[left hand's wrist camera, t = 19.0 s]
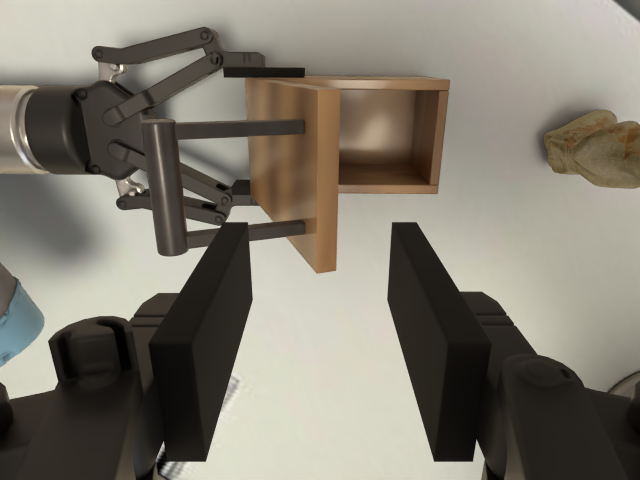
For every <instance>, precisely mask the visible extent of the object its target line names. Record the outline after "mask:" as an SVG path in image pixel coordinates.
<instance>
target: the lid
mask: <svg viewBox="0 0 640 480" xmlns="http://www.w3.org/2000/svg"><path fill="white" fill-rule="evenodd" d="M245 85H246V106H247V120H245V121H215V122H184V123H176V122H175V120H171V119H149V120H143V121H141V130H142V137H143V145H144V152H145V160H146V167H147V175H148V182H149V190H150V197H151V205H152V212H153V220H154V227H155V235H156V242H157V250H158V253H159V254H160V255H162V256H178V255H182V254H184V253H186V252H187V251H188V250H189V249H190V248H198V247H206V246H209V245H210V243H211V242H212V240H213V239H214V237H215V235H216V234H217V232H218V231H219V229H220V228H216V229H207V230H198V231H189V232H187V225H186V216H185V206H184V197H183V187H182V178H181V168H180V159H179V149H178V140H184V139H206V138H229V137H248V147H249V168H250V188H251V196H252V197H253V198H254V199H255V201H256V202H257V203H258V204H259V205H260V207H261V208H262V209H263V210H264V211H265V213H266V214H267V215H268V216H269V217H270V218H271V220H272V221H273V222H271V223H262V224H253V225H248V233H249V241H255V240H263V239H272V238H280V237H286V238H287V239H288V240H289V241H290V242H291V244H292V245H293V246H294V247H295V248H296V249H297V251H298V252H299V253H300V254H301V255H302V257H303V258H304V259H305V260H306V261H307V263H308V264H309V265H310V266H311V267H312V269H313V270H314V271H315V272H316V273H324V272H330V271H336V254H337V215H338V175H339V135H340V95H341V90H340V89H335V88H328V87H321V86H313V85H306V84H298V83H291V82H284V81H276V80H269V79H262V78H245Z"/></svg>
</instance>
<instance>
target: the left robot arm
mask: <svg viewBox="0 0 640 480" xmlns="http://www.w3.org/2000/svg"><path fill="white" fill-rule="evenodd" d="M252 300H253V298H252V282H251V265H250V249H249V233H248V222H223V224H222V226H221V227H220V229H219V231H218V232H217V234H216V235H215V237H214V239H213V240H212V242H211V243H210V245H209V247H208V248H207V250H206V251H205V253H204V255H203V256H202V258H201V259H200V261H199V263H198V264H197V266H196V267H195V269H194V271H193V272H192V274H191V275H190V277H189V279H188V280H187V282H186V284H185V285H184V287H183V288H182V290H181V292H180V293H158V294H156V295H155V296H153V297H152V298H150V299H149V300H147V301H146V302H144V303H143V304H142V305H141V306H140V308H139V309H138V310H137V312H136V313H135V314H134V317H132V318H131V320H130V321H129V322H128V321H127V320H126V319H124V318H120V317H115V316H99V317H94V318H89V319H84V320H81V321H78V322H76V323H73V324H70V325H68V326H66V327H65V328H63V329H61V330H59V331H58V332H56V333H55V334H54V335H53V336H52V337H51V338H50V340H49V341H48V343H49V347H50V351H51V354H52V358H53V362H54V366H55V370H56V374H57V378H58V384H57V386H56V388H55V390H52V391H48V392H45V393H40V394H35V395H30V396H25V397H20V398H15V399H10V400H9V397H8V393H7V390H6V387H5V386H4V385H3V384H2V383H1V382H0V480H158V474H157V467H156V461H155V460H156V458H157V455H158V453H159V451H160V448H161V446H162V443H163V441H164V445H165V451H166V457H167V462H206V459H207V455H208V452H209V449H210V445H211V442H212V438H213V435H214V431H215V428H216V424H217V421H218V418H219V414H220V411H221V407H222V404H223V400H224V397H225V393H226V390H227V386H228V383H229V380H230V376H231V373H232V369H233V366H234V362H235V359H236V355H237V352H238V349H239V345H240V342H241V338H242V335H243V331H244V328H245V324H246V321H247V317H248V314H249V311H250V307H251V304H252ZM387 300H388V304H389V307H390V311H391V314H392V317H393V321H394V324H395V328H396V331H397V335H398V338H399V342H400V345H401V349H402V352H403V355H404V359H405V362H406V366H407V369H408V373H409V376H410V380H411V383H412V386H413V390H414V393H415V397H416V400H417V404H418V407H419V411H420V414H421V418H422V421H423V424H424V428H425V431H426V435H427V438H428V442H429V445H430V449H431V452H432V455H433V459H434V462H473V457H474V451H475V445H476V439H477V441H478V443H479V446H480V448H481V451H482V453H483V455H484V458H485V461H484V467H483V473H482V478H481V480H640V372H639V373H637V374H634V375H632V376H630V377H629V378H627V379H625V380H624V381H622V382H621V383H619V384H618V385H617V386H615V387H614V388H613V389H612V390H611V391H610V392H609V393H605V392H600V391H596V390H592V389H588V388H585V387H584V385H583V383H582V381H581V380H580V378H579V377H578V376H577V375H576V373H575V372H574V371H573V370H571V369H570V368H568V367H567V366H565V365H564V364H563V363H560V362H558V361H556V360H553V359H551V358H549V357H545V356H540V355H537V353H536V352H535V351H534V349H533V348H532V347H531V345H530V344H529V343H528V341H527V340H526V339H525V337H524V336H523V335H522V333H521V332H520V331H519V329H518V328H517V327H516V326H514V323H513V322H512V320H511V319H510V318H509V316H506V312H505V311H504V310H503V308H502V307H501V306H500V304H499V303H498V302H497V301H496V300H494V299H492V298H491V297H489V296H488V295H486V294H484V293H483V292H459V290H458V288H457V287H456V285H455V284H454V282H453V280H452V279H451V277H450V275H449V274H448V272H447V271H446V269H445V267H444V266H443V264H442V263H441V261H440V259H439V258H438V256H437V255H436V253H435V251H434V250H433V248H432V247H431V245H430V243H429V242H428V240H427V239H426V237H425V235H424V234H423V232H422V231H421V229H420V227H419V226H418V224H417V222H392V233H391V249H390V265H389V282H388V298H387Z"/></svg>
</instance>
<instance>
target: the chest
mask: <svg viewBox="0 0 640 480" xmlns="http://www.w3.org/2000/svg"><path fill="white" fill-rule="evenodd" d="M256 78H262V79H269V80H276V81H284V82H291V83H298V84H306V85H313V86H321V87H328V88H335V89H340V90H341V95H340V135H339V175H338V193H384V194H437V193H438V184H439V176H440V167H441V158H442V148H443V139H444V130H445V121H446V112H447V103H448V93H449V91H448V90H449V84H450V80H446V79H438V78H430V77H409V76H311V75H305V77H304V78H282V77H256Z"/></svg>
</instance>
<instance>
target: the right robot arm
mask: <svg viewBox="0 0 640 480" xmlns="http://www.w3.org/2000/svg"><path fill="white" fill-rule="evenodd" d="M199 48H203V49H204V51H205V53H206V56H204V57H202V58H201V59H199V60H197V61H196V62H194V63H192V64H190V65H189V66H187V67H185V68H183V69H182V70H180V71H178V72H176V73H175V74H173V75H171V76H169V77H168V78H166V79H164V80H162V81H161V82H159V83H157V84H155V85H154V86H152V87H150V88H149V89H147V90H144V91H142V92H140V93H138V94H136V95H134V94H133V93H132V92H130V91H129V90H127V89H126V88H124V87H123V86H121V85H120V84H119V83H117V82H116V78H117V76H118V75H120V74H124V73H126V72H127V70H128V64H141V63H145V62H149V61H153V60H157V59H161V58H164V57H168V56H172V55H176V54H180V53H184V52H188V51H191V50H195V49H199ZM92 57H93V58H94V59H95V60H96V61H97V62H98V65H99V81H97V82H95V83H94V84H92V85H90V86H41V87H36V86H24V85H0V174H48V173H53V174H78V175H104V176H107V177H109V178H111V179H113V180H115V181H116V184H117V188H118V192H119V195H120V198H118V199H117V201H116V205H117V207H118V208H119V209H121V210H130V209H140V208H144V209H148V210H152V205H151V197H150V190H149V189H145V188H144V186H143V185H142V184H140V183H135V182H133V181H132V180H131V178H130V176H131V175H132V174H133V173H134V172H136V171H137V170H138V169H141V170H144V171H146V172H147V167H146V160H145V152H144V145H143V137H142V130H141V121H143V120H149V119H156V113H155V112H153V110H152V108H154V107H155V106H157V105H159V104H161V103H162V102H164V101H165V100H167V99H169V98H170V97H172V96H174V95H176V94H177V93H179V92H181V91H183V90H184V89H186V88H188V87H190V86H192V85H193V84H195V83H197V82H199V81H200V80H202V79H204V78H206V77H207V76H209V75H211V74H213V73H215V72H216V71H218V70H220V69H222V68H223V71H224V77H238V78H256V77H282V78H304V77H305V68H265V56H264V55H262V54H260V53H257V52H227V51H225V50H224V49H223V48H222V46H221V44H220V41H219V38H218V34H217V32H216V31H215V30H212V29H209V28H206V27H201V28H198V29H194V30H190V31H186V32H182V33H179V34H175V35H171V36H167V37H163V38H160V39H156V40H152V41H148V42H144V43H141V44H137V45H133V46H129V47H125V48H114V47H104V46H96V47H94V48H93V50H92ZM180 168H181V178H182V187H183V188H186V189H188V190H190V191H192V192H194V193H196V194H198V195H200V196H202V197H204V198H206V199H208V200H210V201H212V202H215V203H212V202H207V201H203V200H199V199H195V198H190V197H186V196H183V197H184V206H185V216H186V218H187V219H192V220H196V221H201V222H205V223H209V224H214V225H218V226H221V225H222V224H223V222H226V220H227V218H228V216H229V215H230V211H231V208H232V207H233V206H251V205H252V206H260V205H259V204H258V203H257V202H256V201H255V199H254V198H253V197H252V196H251V188H250V180H236V181H235V182H234V184H233V185H232V186H231V187H229V186H227V185H225V184H223V183H221V182H219V181H217V180H215V179H213V178H211V177H209V176H207V175H205V174H203V173H201V172H199V171H197V170H195V169H193V168H191V167H189V166H187V165H185V164H183V163H181V162H180ZM216 203H217V204H216ZM43 327H44V316H43V314H42V312H41V311H40V310H39V308H38V307H37V306H36V305H35V303H34V302H33V301H32V299H31V298H30V297H29V295H28V294H27V293H26V291H25V290H24V289H23V287H22V286H21V283H20V282H19V279H17V278H15V277H13V276H12V275H11V274H10V273H9V271H8V270H7V269H6V268H5V267H4V266H3V265H2V264H1V263H0V367H1V366H3V365H4V364H6V363H7V361H9V360H10V359H11V358H13V357H14V356H16V355H17V354H19V353H20V352H22V351H23V350H24V349H25V348H26V347H27V346H29V345H30V344H31V343H32V342H33V341H34V340H35V339H36V338H37V337H38V335H39V334H40V333H41V331H42V329H43Z"/></svg>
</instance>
